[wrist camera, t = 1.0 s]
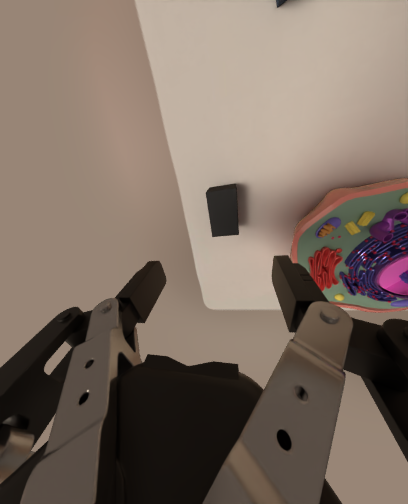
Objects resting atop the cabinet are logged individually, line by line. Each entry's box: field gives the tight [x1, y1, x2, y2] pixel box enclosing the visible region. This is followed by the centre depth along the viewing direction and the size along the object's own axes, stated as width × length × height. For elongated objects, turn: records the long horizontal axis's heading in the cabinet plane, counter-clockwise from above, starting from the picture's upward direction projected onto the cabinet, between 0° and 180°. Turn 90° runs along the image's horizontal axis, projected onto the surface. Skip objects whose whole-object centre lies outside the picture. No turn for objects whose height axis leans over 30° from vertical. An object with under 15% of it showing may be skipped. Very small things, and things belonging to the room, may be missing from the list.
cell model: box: [290, 178, 408, 312], centre depth 18 cm, size 17×20×11 cm
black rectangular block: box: [206, 184, 239, 237], centre depth 22 cm, size 7×4×4 cm, turn 10°
